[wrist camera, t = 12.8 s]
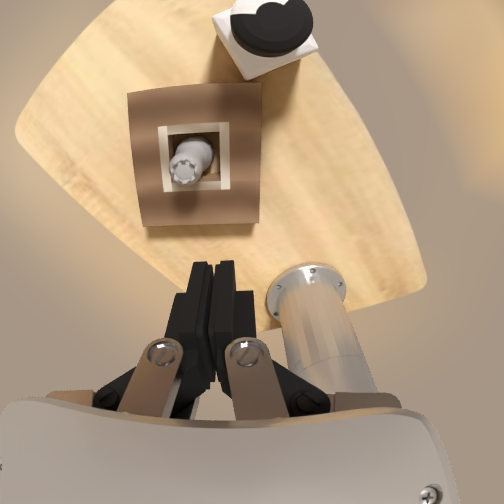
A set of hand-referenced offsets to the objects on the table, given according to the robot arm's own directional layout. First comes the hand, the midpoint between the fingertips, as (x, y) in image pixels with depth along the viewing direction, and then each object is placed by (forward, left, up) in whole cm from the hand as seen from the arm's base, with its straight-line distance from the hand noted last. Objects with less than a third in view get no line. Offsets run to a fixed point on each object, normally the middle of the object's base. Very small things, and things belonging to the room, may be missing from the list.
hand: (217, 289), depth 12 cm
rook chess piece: (+1, +4, -23) cm, 24 cm away
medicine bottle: (+14, -3, -23) cm, 27 cm away
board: (+1, +4, -23) cm, 23 cm away
